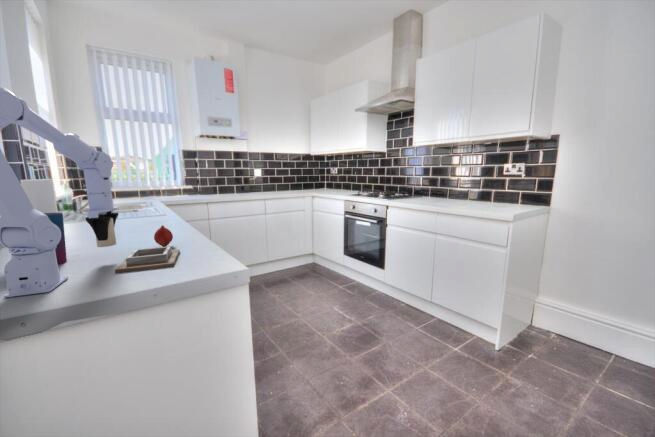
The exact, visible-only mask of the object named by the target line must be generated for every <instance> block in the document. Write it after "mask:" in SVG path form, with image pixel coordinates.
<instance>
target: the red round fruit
mask: <svg viewBox="0 0 655 437" xmlns="http://www.w3.org/2000/svg"><path fill="white" fill-rule="evenodd" d="M173 238H174V237H173V233H172V231H171V230H170V229H169V228H166V227H165V225H161V226H160V227H159V228H158V229H157V230H156V231H155V233H154V235H153V239H154V242H155V243H156V244H158V245H159V246H160V247H168V245H170V243H171V242H172V241H173Z"/></svg>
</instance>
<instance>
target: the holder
mask: <svg viewBox="0 0 655 437" xmlns="http://www.w3.org/2000/svg"><path fill="white" fill-rule="evenodd" d="M179 252H180V253H181V250H180V249H179V248H177V249H172V246H170V245H169V246H168V245H167V246H166V247H163V246H160V247H149V248H137V249H134V250H133V251H132V252H131V253H130V254H129V255H128V256H127V257H126V258H125V259H124V260H123V261H122V262H121V263H119V265H118V266H117V267H116V268H114V272H115V273H114V274H120V273H128V272H138V271H144V270H154V269H163V268H171V267H173V268H174V266H175V263H176V261H177V260H178V257H179V255H180V253H179ZM176 259H177V260H176Z"/></svg>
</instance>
